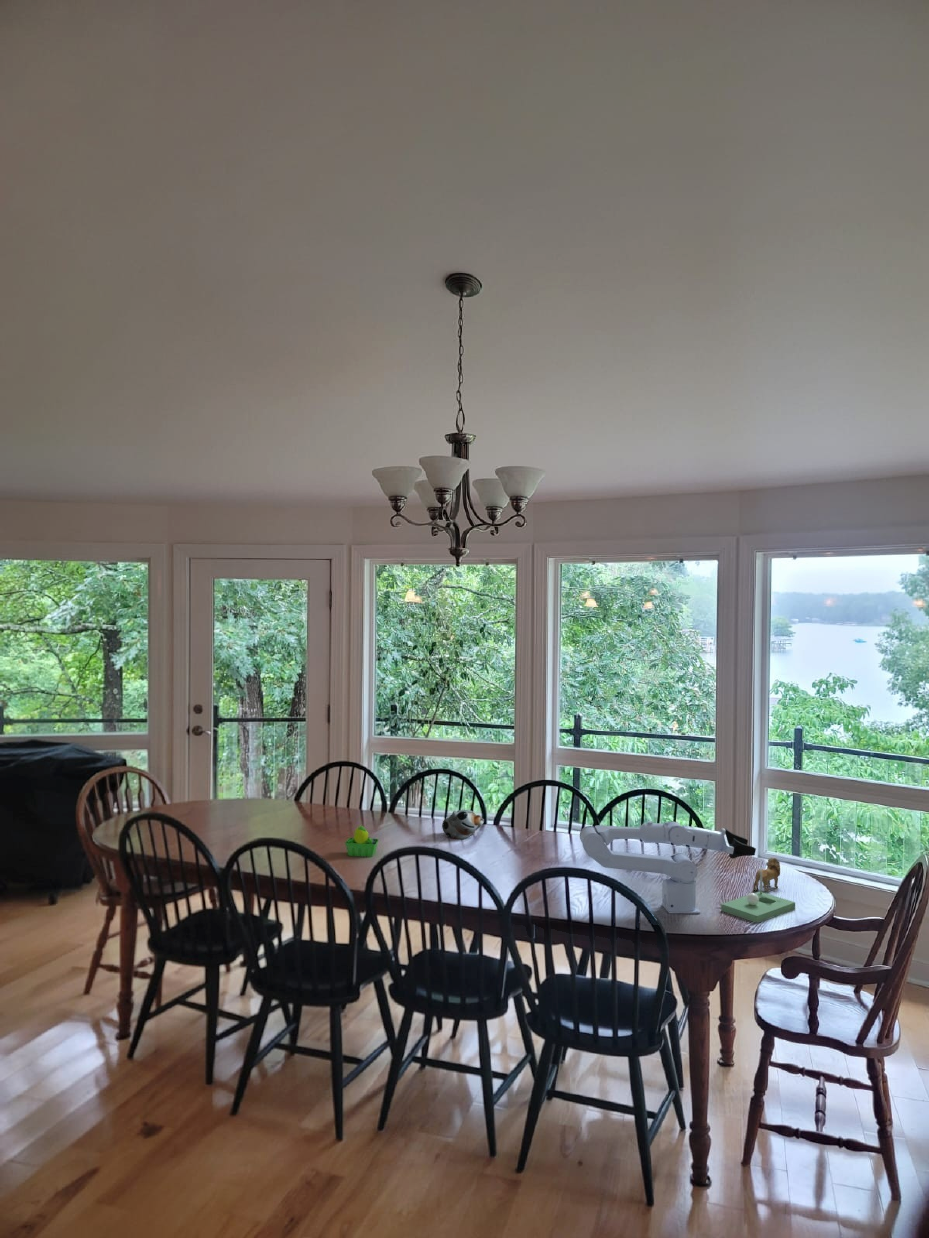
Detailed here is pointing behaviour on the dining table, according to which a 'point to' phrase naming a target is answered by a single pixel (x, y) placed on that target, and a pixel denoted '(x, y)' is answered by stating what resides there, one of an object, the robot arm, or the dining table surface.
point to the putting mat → (758, 905)
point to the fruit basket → (361, 844)
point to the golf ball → (752, 899)
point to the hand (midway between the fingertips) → (750, 847)
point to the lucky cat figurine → (461, 824)
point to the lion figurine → (768, 874)
